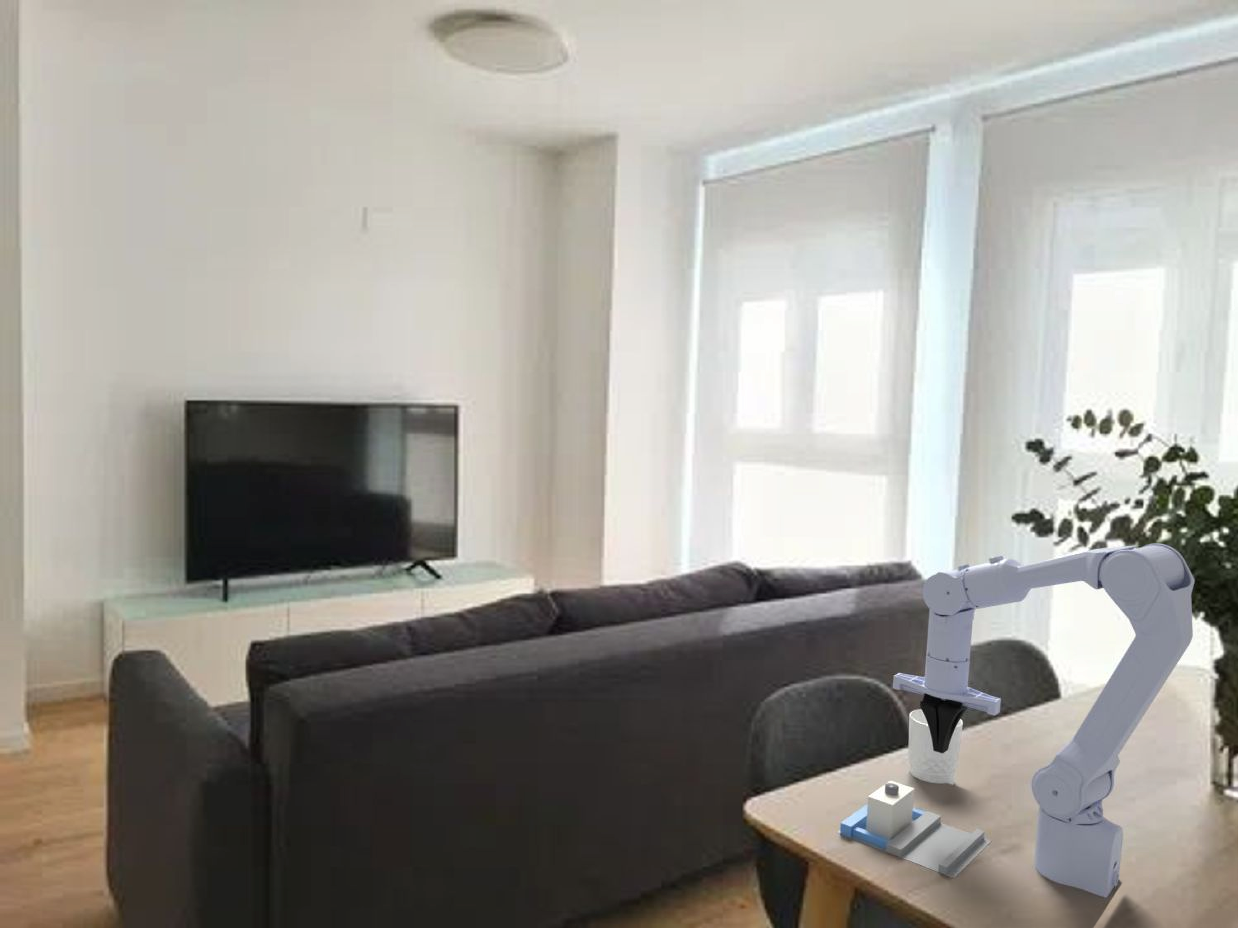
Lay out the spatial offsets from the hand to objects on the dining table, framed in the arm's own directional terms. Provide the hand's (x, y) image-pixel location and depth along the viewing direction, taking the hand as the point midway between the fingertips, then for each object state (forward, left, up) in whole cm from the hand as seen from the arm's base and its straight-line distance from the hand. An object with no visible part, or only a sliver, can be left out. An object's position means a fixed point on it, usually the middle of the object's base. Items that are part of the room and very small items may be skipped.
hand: (940, 750), depth 130 cm
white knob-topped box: (+3, +9, -9) cm, 13 cm away
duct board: (0, +9, -10) cm, 13 cm away
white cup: (+6, -13, -11) cm, 18 cm away
